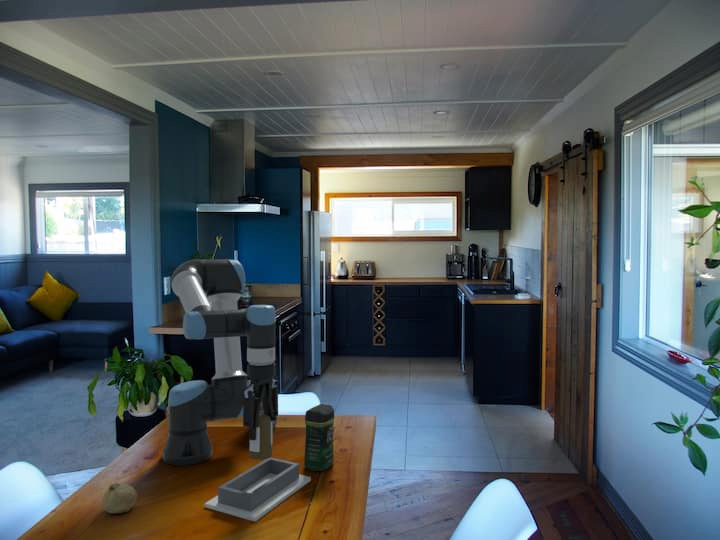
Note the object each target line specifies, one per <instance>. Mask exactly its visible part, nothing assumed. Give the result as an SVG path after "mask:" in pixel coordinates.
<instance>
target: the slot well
mask: <svg viewBox="0 0 720 540" xmlns="http://www.w3.org/2000/svg"><path fill="white" fill-rule="evenodd" d="M311 478H312V477H311V476H308V475H303V474H300V463H296V462H293V461H288V460H284V459H279V458H274V457H270V458H268V459H264V460H261V462H259V463H257V464H255V465H254V466H252V467H250V468H249V469H247V470H245V471H244V472H242V473H240V474H239V475H237V476H235V477H234V478H232V479H230V480H228V481H226V482H225V483H222V485H220V486H218V487H217V495H216V496H214V497H213V498H211V499H209V500H208V501H207V502H205V503H204V508H207V509H210V510H214V511H218V512H219V513H220V512H221V513H224V514H227V515H231V516H234V517H238V518H241V519H245V520H248V521H251V522H255V523H256V522H257V521H258V520H260V519H261V518H262V517H263V516H265V515H266V514H268V513H269V512H271V511H272V510H273V509H274V508H276V507H278V505H280V504H281V503H283V502H284V501H286V500H287V499H288V498H289V497H291V496H292V495H294V493H296V492H298V491H299V490H300V489H302V488H303V487H304V486H306V485H307V484H308V483H309V482H311V481H312V479H311Z"/></svg>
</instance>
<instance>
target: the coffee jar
mask: <svg viewBox="0 0 720 540" xmlns="http://www.w3.org/2000/svg"><path fill="white" fill-rule="evenodd" d="M334 423H335V409H334V407H333V406H332V405H330V404H325V403H320V404H317V405H315V406H313V407H311V408H309V409H308V410H306V411H305V416H304V424H305V442H304V443H305V444H304V446H305V447H304V458H303V460H304V461H303V462H304V463H303V466H304V468H305V469H307V470H309V471H312V472H318V471H319V472H323V471H326V470H327V469H329V468H330V467H331V466H332V465H333V464H334V460H335V459H334V425H335V424H334Z"/></svg>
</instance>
